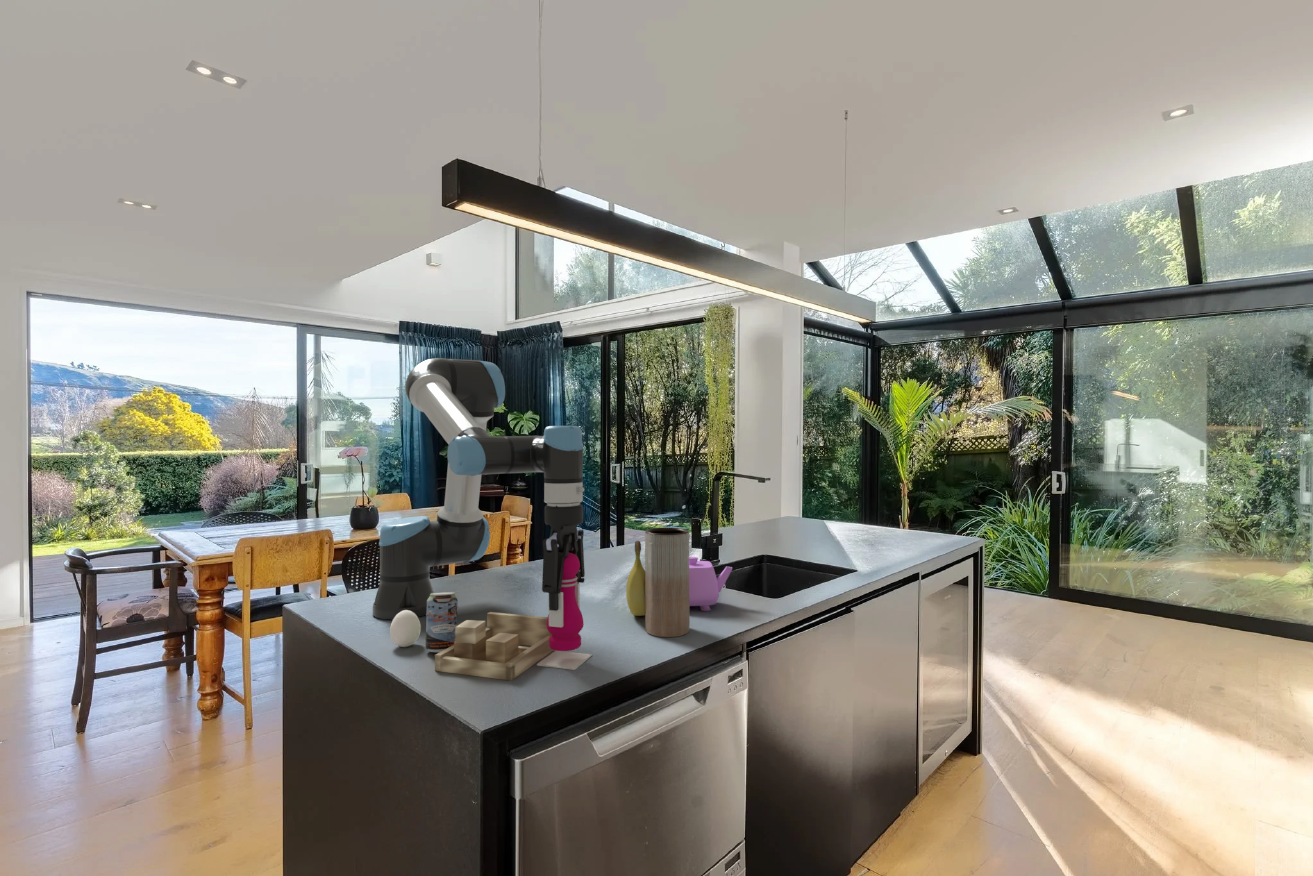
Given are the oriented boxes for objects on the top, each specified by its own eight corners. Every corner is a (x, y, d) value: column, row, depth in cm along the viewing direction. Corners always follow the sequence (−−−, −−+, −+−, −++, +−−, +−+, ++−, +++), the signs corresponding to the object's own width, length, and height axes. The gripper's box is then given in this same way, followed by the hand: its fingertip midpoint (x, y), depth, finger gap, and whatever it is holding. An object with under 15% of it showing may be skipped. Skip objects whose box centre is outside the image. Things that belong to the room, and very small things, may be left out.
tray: (434, 670, 120) (434, 639, 120) (490, 639, 138) (490, 612, 138) (511, 680, 115) (511, 647, 115) (558, 646, 133) (558, 618, 133)
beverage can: (424, 658, 127) (424, 598, 127) (426, 646, 134) (426, 589, 134) (457, 654, 129) (457, 595, 128) (458, 643, 136) (457, 587, 136)
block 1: (455, 642, 121) (455, 627, 121) (466, 635, 125) (466, 620, 125) (475, 643, 120) (475, 628, 120) (485, 636, 125) (485, 620, 125)
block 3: (486, 672, 119) (485, 640, 119) (500, 663, 124) (500, 632, 124) (504, 674, 118) (504, 642, 118) (518, 665, 123) (518, 634, 123)
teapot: (655, 613, 158) (655, 562, 158) (655, 600, 170) (654, 553, 170) (735, 612, 158) (735, 561, 158) (729, 599, 170) (729, 552, 170)
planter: (672, 640, 137) (672, 535, 136) (636, 632, 143) (635, 531, 142) (698, 629, 145) (697, 529, 144) (662, 621, 151) (662, 526, 150)
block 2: (454, 668, 121) (454, 642, 121) (469, 659, 126) (469, 634, 126) (472, 670, 120) (472, 644, 120) (486, 661, 125) (486, 636, 125)
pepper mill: (552, 639, 129) (551, 541, 129) (587, 640, 128) (586, 541, 128) (542, 651, 122) (541, 547, 122) (579, 652, 121) (578, 547, 121)
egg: (387, 644, 135) (387, 609, 135) (417, 639, 138) (417, 605, 138) (392, 653, 130) (392, 616, 130) (423, 647, 133) (423, 611, 133)
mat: (536, 665, 122) (536, 664, 122) (555, 651, 130) (555, 650, 130) (574, 670, 120) (574, 668, 120) (591, 655, 128) (591, 654, 128)
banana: (631, 602, 168) (631, 527, 167) (653, 602, 167) (653, 527, 167) (624, 629, 145) (624, 541, 145) (650, 629, 145) (649, 541, 145)
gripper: (558, 510, 114) (559, 637, 114) (600, 499, 133) (601, 609, 133) (521, 509, 116) (522, 634, 117) (568, 498, 135) (569, 606, 135)
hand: (564, 620), depth 125 cm, fingers closed on pepper mill, 7 cm apart
